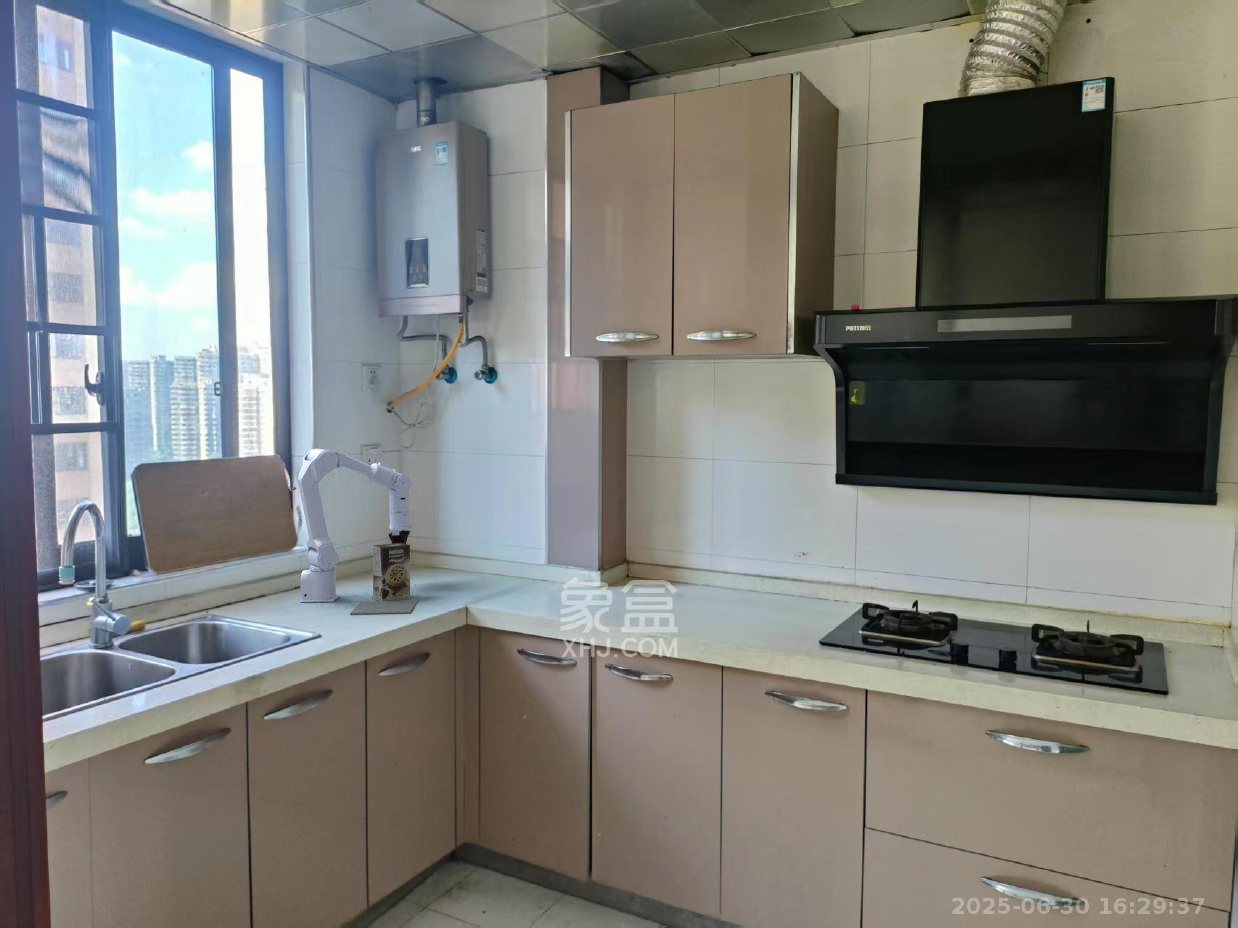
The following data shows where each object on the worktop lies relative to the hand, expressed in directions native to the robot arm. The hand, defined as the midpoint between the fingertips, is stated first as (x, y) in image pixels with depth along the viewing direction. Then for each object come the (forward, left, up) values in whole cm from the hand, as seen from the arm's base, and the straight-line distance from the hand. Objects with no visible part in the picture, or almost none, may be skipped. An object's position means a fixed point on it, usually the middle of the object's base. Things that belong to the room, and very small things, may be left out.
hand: (399, 555), depth 266 cm
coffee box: (0, -15, -11) cm, 18 cm away
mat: (0, -27, -10) cm, 29 cm away
